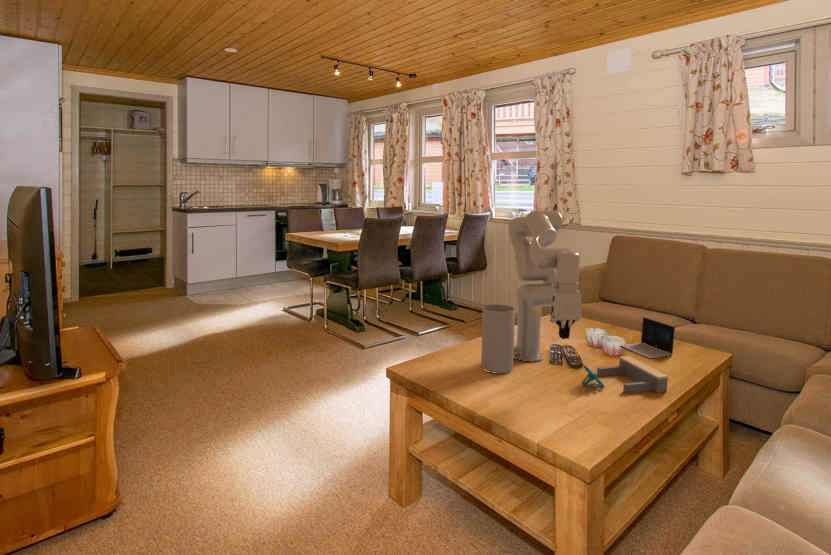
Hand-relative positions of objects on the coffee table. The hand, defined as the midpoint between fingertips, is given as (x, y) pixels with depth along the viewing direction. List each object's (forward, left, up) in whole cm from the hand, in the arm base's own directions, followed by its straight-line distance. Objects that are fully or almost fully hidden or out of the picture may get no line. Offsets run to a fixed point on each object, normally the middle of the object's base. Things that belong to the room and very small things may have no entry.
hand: (564, 337), depth 180 cm
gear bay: (+28, 0, -19) cm, 34 cm away
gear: (+13, 0, -19) cm, 23 cm away
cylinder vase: (-15, +24, -19) cm, 34 cm away
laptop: (+57, +30, -20) cm, 68 cm away
